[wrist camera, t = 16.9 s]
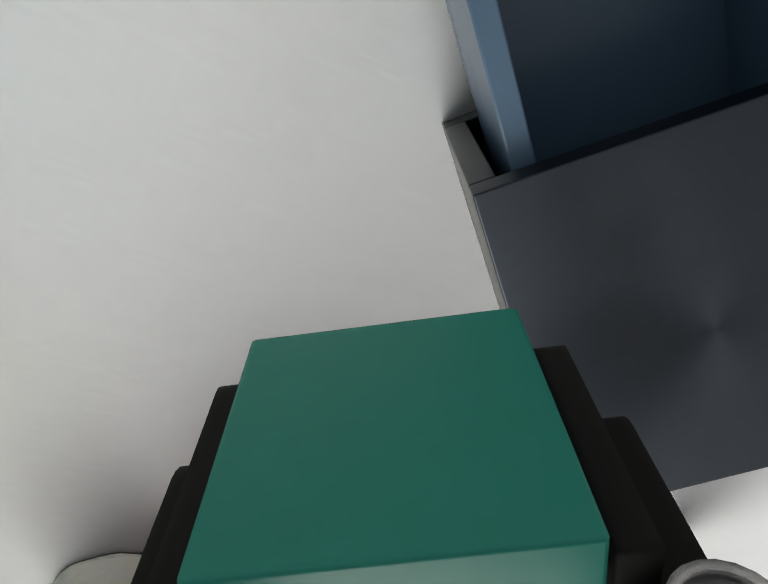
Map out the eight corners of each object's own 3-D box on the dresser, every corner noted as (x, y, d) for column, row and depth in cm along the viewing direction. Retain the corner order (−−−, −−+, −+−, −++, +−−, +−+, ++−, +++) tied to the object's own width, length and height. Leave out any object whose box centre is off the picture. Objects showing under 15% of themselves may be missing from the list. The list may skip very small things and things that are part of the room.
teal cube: (305, 517, 12) (272, 781, 8) (251, 338, 10) (172, 582, 6) (522, 493, 12) (595, 754, 8) (516, 305, 10) (612, 537, 6)
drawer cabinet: (441, 122, 25) (472, 195, 17) (755, 7, 23) (947, 32, 15) (523, 382, 32) (570, 516, 24) (769, 311, 30) (906, 433, 22)
